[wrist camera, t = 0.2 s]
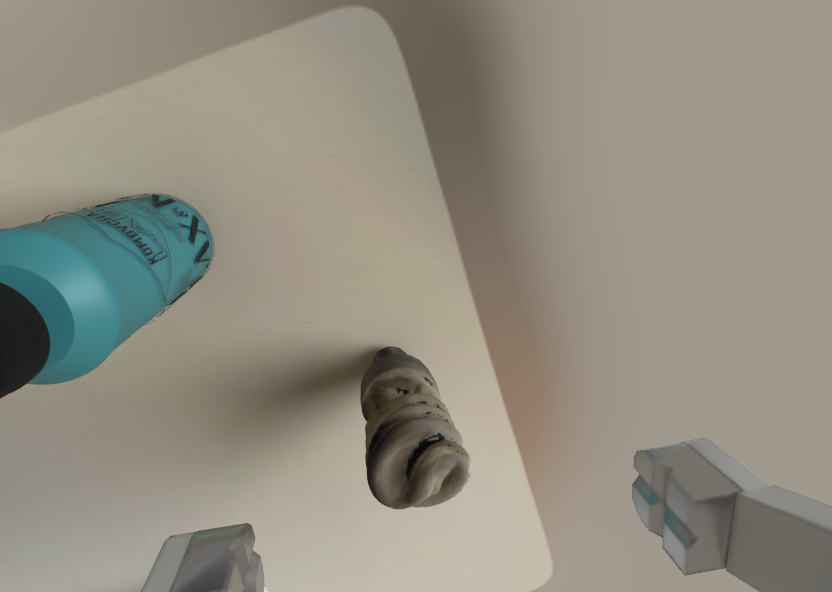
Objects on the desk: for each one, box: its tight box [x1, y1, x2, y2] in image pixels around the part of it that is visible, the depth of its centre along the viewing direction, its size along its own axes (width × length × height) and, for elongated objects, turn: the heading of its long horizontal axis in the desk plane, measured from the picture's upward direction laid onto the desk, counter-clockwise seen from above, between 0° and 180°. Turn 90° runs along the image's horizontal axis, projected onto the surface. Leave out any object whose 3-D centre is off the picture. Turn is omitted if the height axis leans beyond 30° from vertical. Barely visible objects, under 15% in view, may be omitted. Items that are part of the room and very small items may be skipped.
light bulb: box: [361, 347, 471, 509], centre depth 30 cm, size 6×6×15 cm
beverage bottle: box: [0, 193, 214, 398], centre depth 23 cm, size 6×7×20 cm
